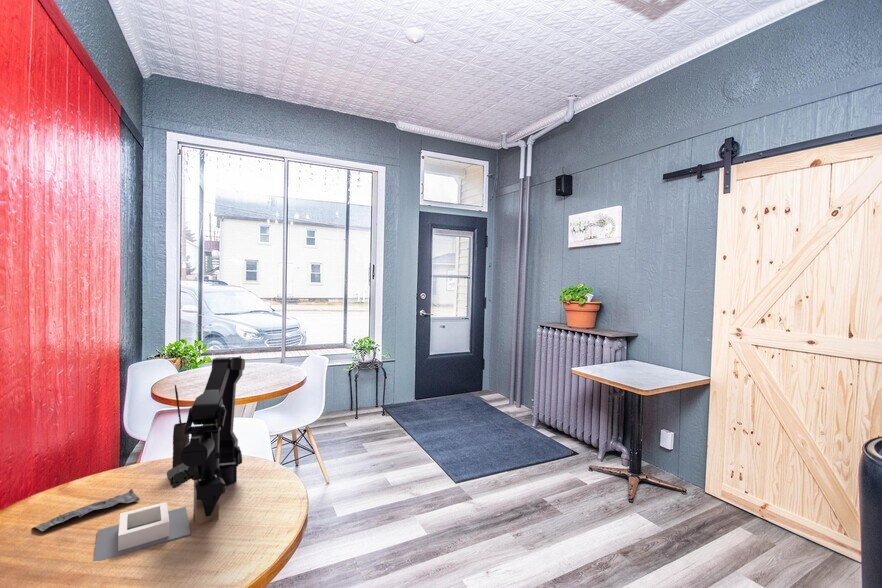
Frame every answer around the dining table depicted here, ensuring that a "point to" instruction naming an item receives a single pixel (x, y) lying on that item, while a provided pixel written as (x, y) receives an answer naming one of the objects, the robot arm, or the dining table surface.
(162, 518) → the square frame on plate
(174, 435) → the butter churn
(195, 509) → the wooden block
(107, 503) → the grey flat stone bar
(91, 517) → the dining table surface
